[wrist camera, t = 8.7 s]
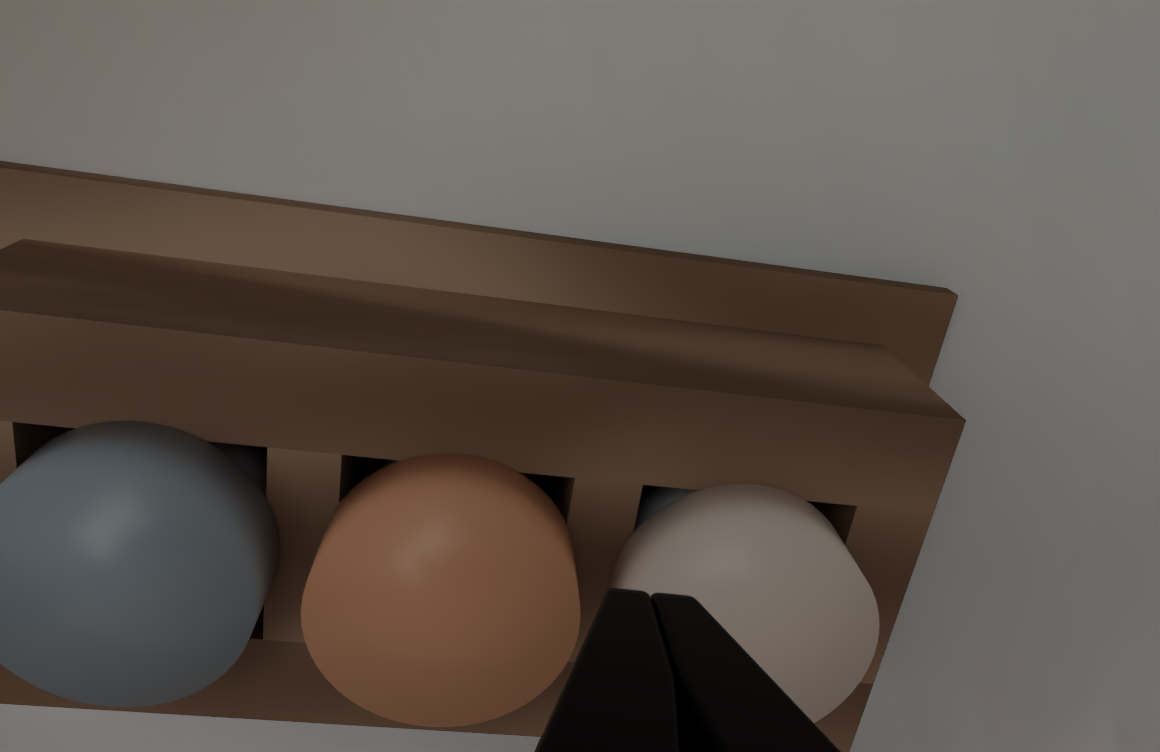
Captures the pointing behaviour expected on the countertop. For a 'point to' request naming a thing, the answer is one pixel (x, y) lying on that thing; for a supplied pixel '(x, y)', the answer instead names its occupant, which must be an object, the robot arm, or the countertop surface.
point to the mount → (462, 384)
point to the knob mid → (443, 592)
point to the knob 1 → (133, 562)
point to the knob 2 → (761, 582)
